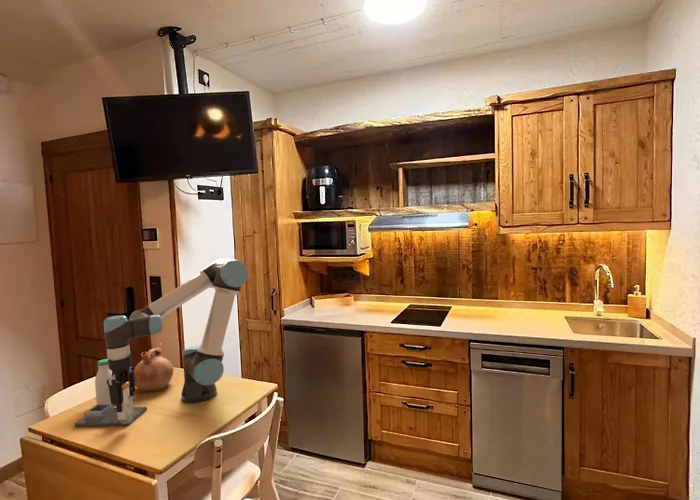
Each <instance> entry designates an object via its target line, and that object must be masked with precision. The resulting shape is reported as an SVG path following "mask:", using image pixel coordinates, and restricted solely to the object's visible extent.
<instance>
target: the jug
mask: <svg viewBox="0 0 700 500" xmlns="http://www.w3.org/2000/svg"><path fill="white" fill-rule="evenodd" d="M162 346H163V344H162V342H161V343H160V342H159V343H158V344H157V346H156V347H155V348H150V349H149V350H148V351H144V352H141V354H140V356H141V359H142V360H141V361H139V362H138V363H137V364H136V365H135V366H134V368H135V369H134V378H135V388H137V390H139V391H141V392H143V393H145V394H146V393H147V394H148V393H149V394H150V392H151V393H155V392H159V391H160V392H161V391H162V390H165V389H166V388H167V387H168V385H169V384H170V382H171V380H172V379H173V376H174V366H173V364H172V363H171V361H170V360H169V359H167V357H163V355H162V354H163V353H162V352H163V351H162ZM153 354H154V355H153Z"/></svg>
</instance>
